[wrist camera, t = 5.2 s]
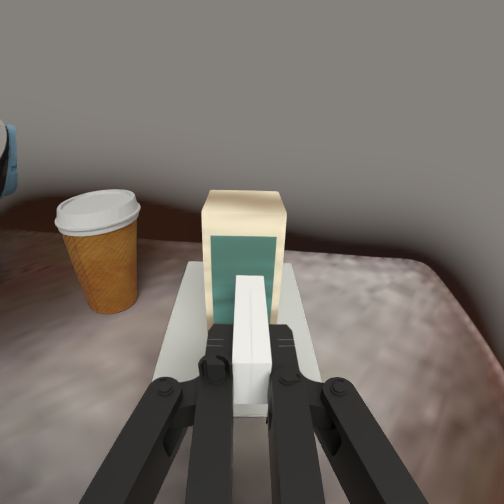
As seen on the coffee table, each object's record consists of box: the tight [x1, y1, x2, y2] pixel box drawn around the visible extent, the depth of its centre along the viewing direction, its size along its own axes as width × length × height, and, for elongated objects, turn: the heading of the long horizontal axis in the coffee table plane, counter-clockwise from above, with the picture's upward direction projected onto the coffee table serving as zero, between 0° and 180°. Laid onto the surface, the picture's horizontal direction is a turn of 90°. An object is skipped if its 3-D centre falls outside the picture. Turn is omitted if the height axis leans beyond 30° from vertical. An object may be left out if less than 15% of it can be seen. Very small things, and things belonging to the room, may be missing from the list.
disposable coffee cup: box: [55, 189, 140, 314], centre depth 31 cm, size 10×10×12 cm
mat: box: [152, 261, 322, 417], centre depth 32 cm, size 24×14×1 cm, turn 1°
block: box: [202, 190, 287, 333], centre depth 23 cm, size 5×5×14 cm
